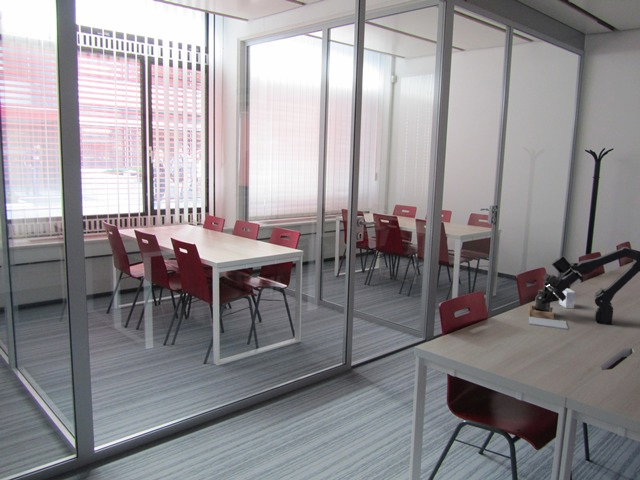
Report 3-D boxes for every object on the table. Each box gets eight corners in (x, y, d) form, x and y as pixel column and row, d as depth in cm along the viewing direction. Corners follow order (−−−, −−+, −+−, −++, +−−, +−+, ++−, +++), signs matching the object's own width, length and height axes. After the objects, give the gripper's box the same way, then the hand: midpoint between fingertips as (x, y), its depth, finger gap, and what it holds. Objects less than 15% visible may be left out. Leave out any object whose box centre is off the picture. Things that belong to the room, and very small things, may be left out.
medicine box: (573, 308, 261) (575, 292, 260) (565, 308, 261) (567, 291, 260) (566, 304, 269) (568, 288, 268) (558, 303, 269) (560, 287, 268)
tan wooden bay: (551, 313, 252) (552, 307, 251) (553, 319, 241) (554, 313, 241) (528, 310, 255) (529, 304, 255) (529, 316, 245) (530, 310, 244)
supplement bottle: (546, 313, 251) (549, 289, 249) (551, 317, 244) (554, 293, 243) (532, 312, 252) (534, 288, 250) (536, 316, 245) (539, 292, 243)
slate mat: (565, 322, 238) (565, 321, 238) (567, 329, 228) (568, 328, 228) (528, 317, 243) (528, 316, 243) (529, 324, 233) (529, 323, 233)
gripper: (549, 264, 253) (524, 284, 256) (561, 272, 235) (533, 294, 238) (564, 280, 253) (538, 300, 256) (577, 290, 235) (549, 311, 238)
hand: (540, 301), depth 247 cm, fingers closed on supplement bottle, 6 cm apart
